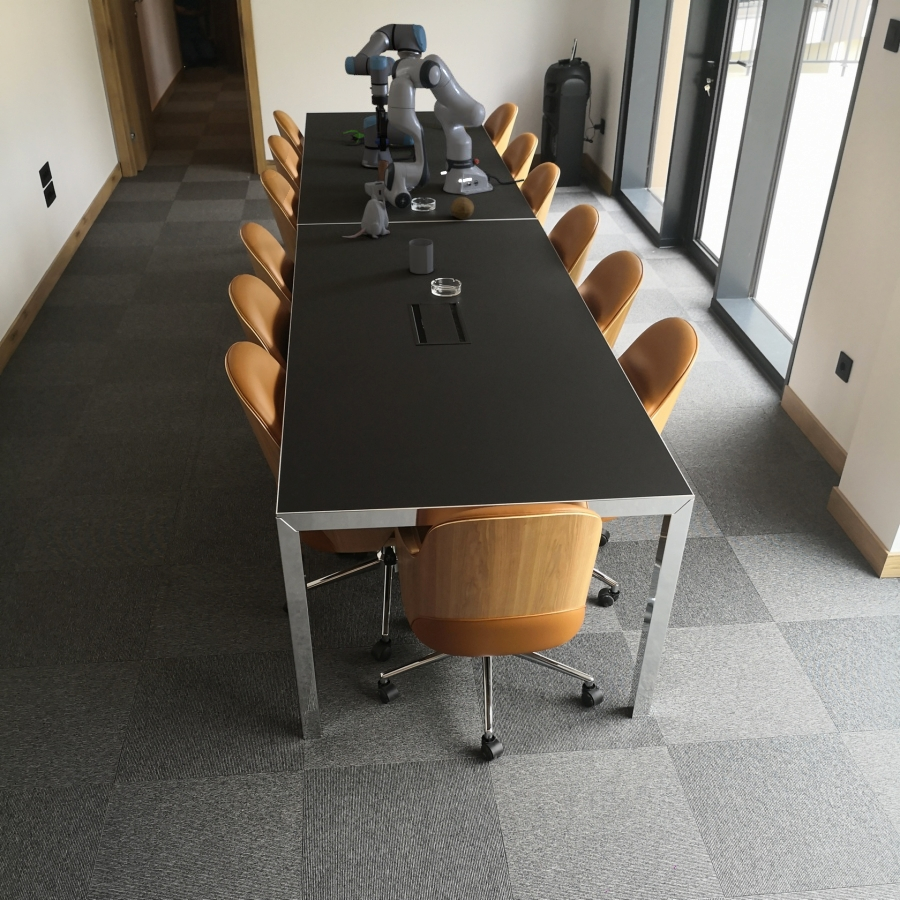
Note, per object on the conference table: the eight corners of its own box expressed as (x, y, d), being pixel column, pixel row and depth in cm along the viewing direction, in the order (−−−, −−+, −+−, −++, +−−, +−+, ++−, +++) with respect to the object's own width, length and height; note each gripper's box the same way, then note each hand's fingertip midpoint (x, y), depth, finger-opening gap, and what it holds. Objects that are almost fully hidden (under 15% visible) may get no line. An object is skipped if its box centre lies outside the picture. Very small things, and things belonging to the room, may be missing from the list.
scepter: (398, 127, 467) (342, 124, 464) (398, 142, 460) (341, 139, 457) (398, 136, 472) (342, 134, 469) (398, 151, 464) (341, 149, 462)
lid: (385, 145, 386) (385, 141, 385) (372, 144, 387) (372, 140, 386) (390, 142, 390) (390, 138, 390) (378, 141, 392) (378, 137, 391)
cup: (409, 265, 311) (408, 238, 306) (432, 265, 312) (431, 238, 307) (410, 274, 304) (409, 246, 299) (433, 273, 305) (433, 246, 299)
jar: (378, 195, 385) (377, 160, 377) (390, 194, 386) (388, 159, 377) (379, 198, 381) (378, 163, 372) (391, 198, 381) (390, 162, 373)
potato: (472, 212, 364) (472, 193, 359) (475, 223, 352) (475, 203, 348) (449, 213, 363) (449, 193, 359) (451, 223, 351) (451, 204, 347)
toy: (395, 233, 341) (394, 195, 333) (350, 248, 327) (348, 209, 318) (380, 228, 346) (378, 190, 338) (334, 242, 332) (332, 203, 324)
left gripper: (368, 91, 385) (370, 145, 397) (374, 99, 369) (376, 154, 382) (385, 90, 386) (387, 144, 399) (391, 98, 371) (393, 154, 383)
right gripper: (415, 180, 371) (406, 172, 382) (369, 185, 365) (361, 176, 376) (415, 195, 374) (406, 186, 385) (370, 200, 368) (361, 191, 379)
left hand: (382, 149), depth 390 cm, fingers closed on lid, 6 cm apart
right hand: (383, 181), depth 380 cm, fingers closed on jar, 5 cm apart
